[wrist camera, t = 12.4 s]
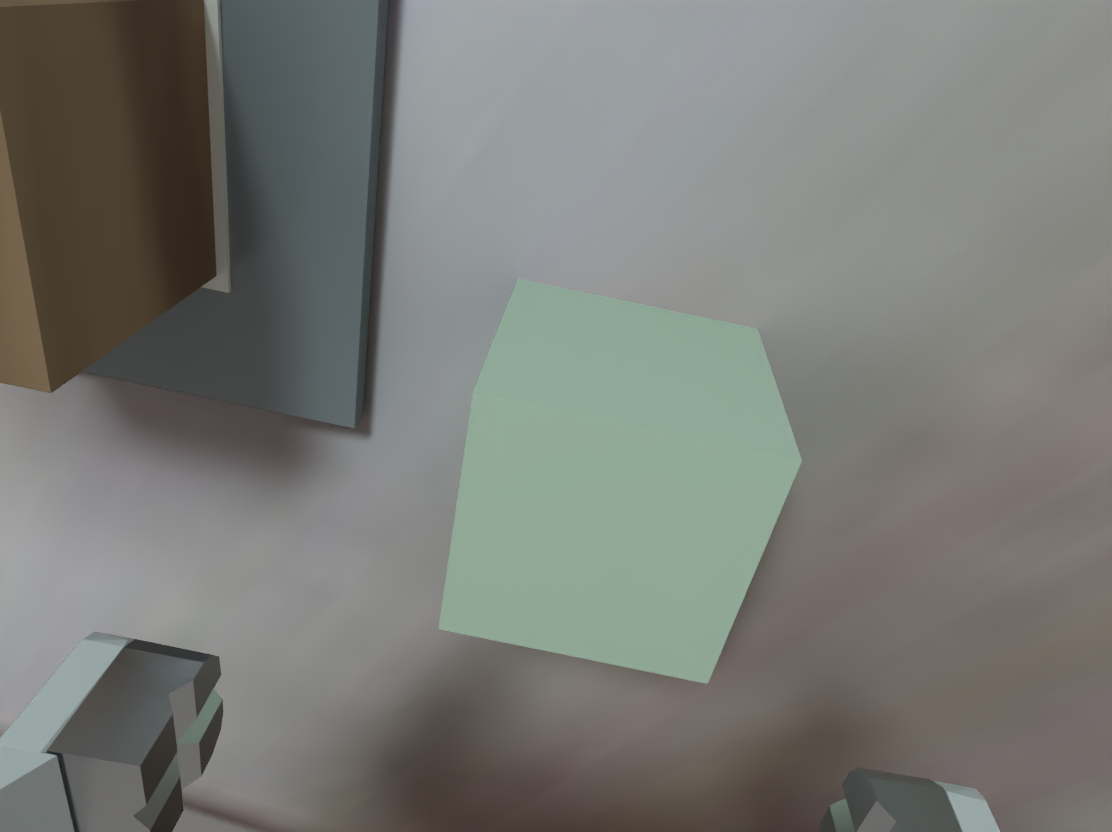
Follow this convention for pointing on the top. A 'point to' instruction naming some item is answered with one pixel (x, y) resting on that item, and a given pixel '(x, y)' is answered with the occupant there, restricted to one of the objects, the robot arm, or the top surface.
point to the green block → (616, 482)
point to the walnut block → (99, 177)
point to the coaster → (281, 215)
